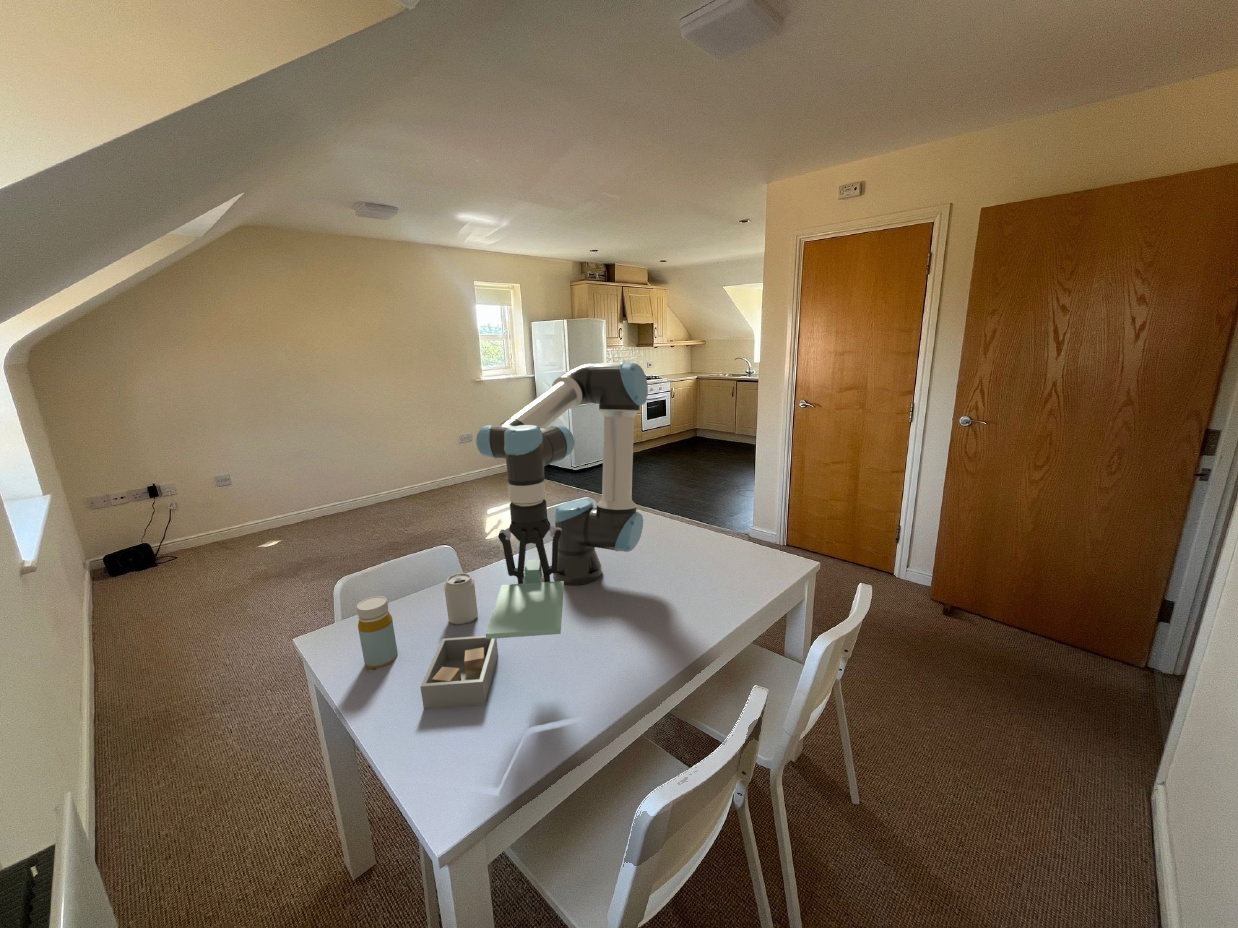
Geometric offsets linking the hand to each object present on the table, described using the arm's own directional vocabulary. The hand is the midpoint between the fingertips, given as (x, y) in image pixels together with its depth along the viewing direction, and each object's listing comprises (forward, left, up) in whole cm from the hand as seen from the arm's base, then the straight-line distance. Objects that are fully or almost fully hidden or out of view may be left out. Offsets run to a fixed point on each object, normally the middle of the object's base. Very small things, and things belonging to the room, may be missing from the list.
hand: (535, 602), depth 108 cm
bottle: (+37, -5, -15) cm, 40 cm away
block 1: (+18, +8, -14) cm, 25 cm away
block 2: (+14, +2, -14) cm, 20 cm away
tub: (+16, +5, -15) cm, 23 cm away
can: (+22, -21, -15) cm, 34 cm away
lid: (0, +9, +2) cm, 9 cm away
